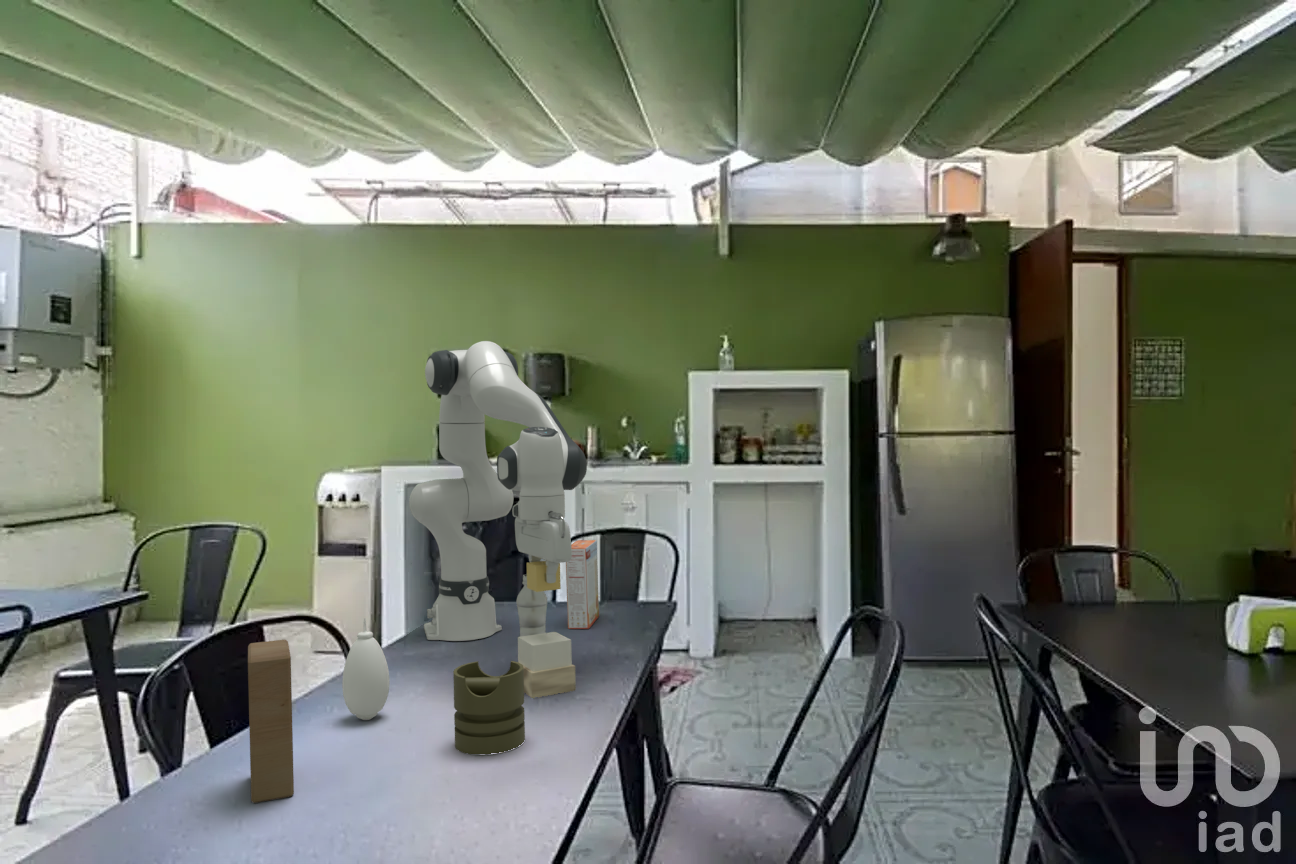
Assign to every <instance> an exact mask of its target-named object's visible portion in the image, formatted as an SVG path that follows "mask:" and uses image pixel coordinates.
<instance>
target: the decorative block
mask: <svg viewBox="0 0 1296 864" xmlns="http://www.w3.org/2000/svg"><path fill="white" fill-rule="evenodd" d="M291 660H292V659H291V652H290V645H289V641H288V640H287V639H276V640H269V641H267V640H266V641H259V642H251V643H249V644H248V646H247V673H248V674H247V681H248V715H249V716H248V719H249V720H248V721H249V725H248V726H249V758H250V760H249V761H250V762H249V763H250V768H249V769H250V798H251V799H250V802H251V803H253V804H258V803H259V804H260V803H264V802H269V801H275V800H282V799H285V798H291V797H293V796H294V793H295V787H294V786H295V784H294V783H295V781H294V778H295V777H294V744H293V743H294V742H293V740H294V739H293V735H294V734H293V698H292V697H293V695H292V693H293V692H292V661H291Z"/></svg>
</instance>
